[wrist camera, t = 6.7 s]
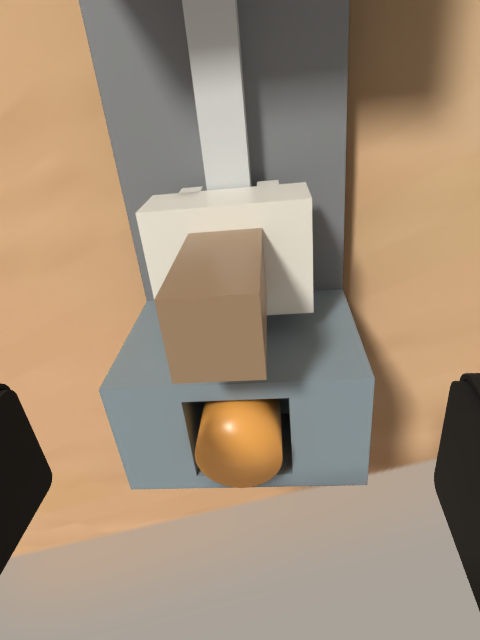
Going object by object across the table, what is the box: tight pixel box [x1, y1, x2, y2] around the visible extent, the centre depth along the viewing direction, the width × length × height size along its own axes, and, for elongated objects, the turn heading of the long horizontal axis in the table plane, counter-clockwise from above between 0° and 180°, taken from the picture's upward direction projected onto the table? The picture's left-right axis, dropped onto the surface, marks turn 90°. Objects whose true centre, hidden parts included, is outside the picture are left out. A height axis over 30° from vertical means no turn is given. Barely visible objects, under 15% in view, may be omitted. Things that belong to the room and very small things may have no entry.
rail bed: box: [79, 0, 375, 489], centre depth 17 cm, size 12×29×10 cm, turn 5°
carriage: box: [135, 180, 314, 384], centre depth 17 cm, size 7×5×10 cm
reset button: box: [195, 398, 283, 488], centre depth 19 cm, size 4×4×3 cm
